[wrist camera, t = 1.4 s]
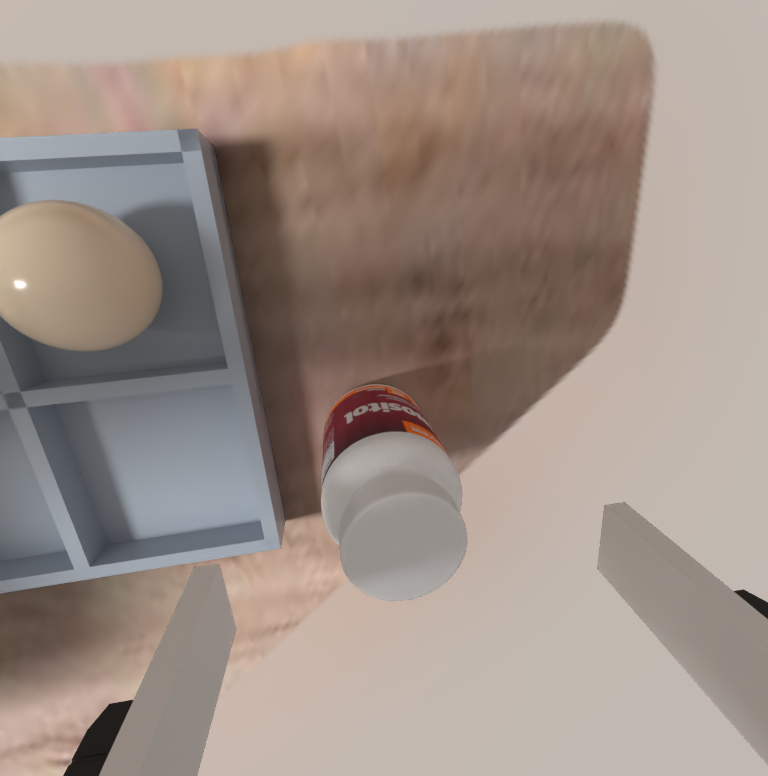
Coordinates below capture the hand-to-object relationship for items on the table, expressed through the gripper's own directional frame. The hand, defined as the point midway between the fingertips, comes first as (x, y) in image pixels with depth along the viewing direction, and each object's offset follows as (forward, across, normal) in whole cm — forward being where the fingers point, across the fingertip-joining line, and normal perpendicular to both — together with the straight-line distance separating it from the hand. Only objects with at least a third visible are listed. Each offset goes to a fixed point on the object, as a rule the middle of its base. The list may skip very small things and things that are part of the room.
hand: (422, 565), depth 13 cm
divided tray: (+11, -18, +5) cm, 22 cm away
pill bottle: (+12, -1, 0) cm, 12 cm away
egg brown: (+11, -12, +10) cm, 19 cm away
